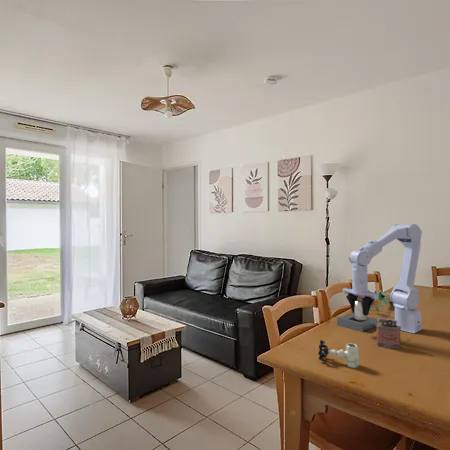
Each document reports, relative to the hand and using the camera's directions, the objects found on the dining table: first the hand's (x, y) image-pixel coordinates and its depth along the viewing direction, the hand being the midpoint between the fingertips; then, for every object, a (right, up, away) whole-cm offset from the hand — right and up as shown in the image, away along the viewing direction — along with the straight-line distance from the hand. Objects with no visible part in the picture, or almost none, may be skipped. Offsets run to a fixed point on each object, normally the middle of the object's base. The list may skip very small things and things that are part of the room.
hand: (360, 313), depth 131 cm
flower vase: (+26, -8, +38) cm, 47 cm away
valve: (-17, -9, -26) cm, 32 cm away
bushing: (0, -2, 0) cm, 2 cm away
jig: (+3, -8, +11) cm, 14 cm away
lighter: (+5, -9, -12) cm, 16 cm away
